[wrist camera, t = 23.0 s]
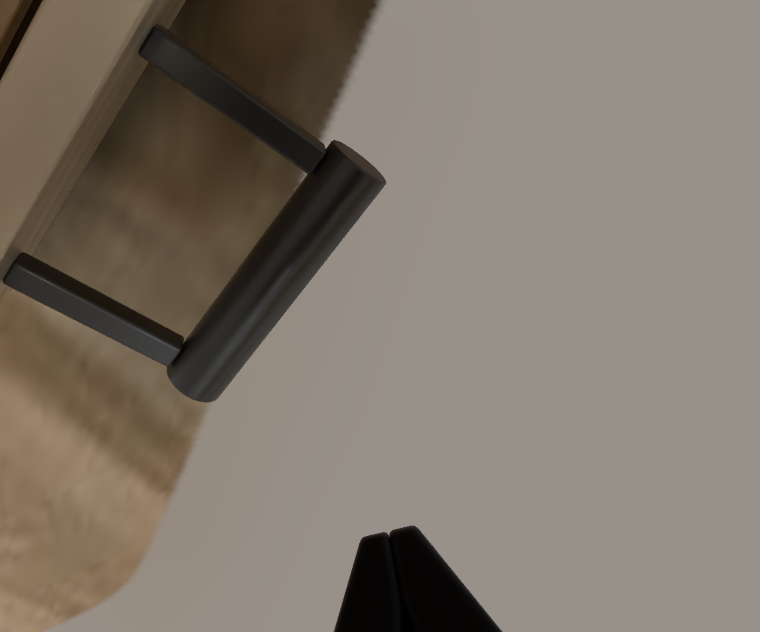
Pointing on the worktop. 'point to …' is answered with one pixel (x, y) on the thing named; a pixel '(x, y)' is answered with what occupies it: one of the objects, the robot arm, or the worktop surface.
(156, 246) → the worktop surface
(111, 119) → the drawer
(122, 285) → the worktop surface
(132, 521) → the worktop surface
